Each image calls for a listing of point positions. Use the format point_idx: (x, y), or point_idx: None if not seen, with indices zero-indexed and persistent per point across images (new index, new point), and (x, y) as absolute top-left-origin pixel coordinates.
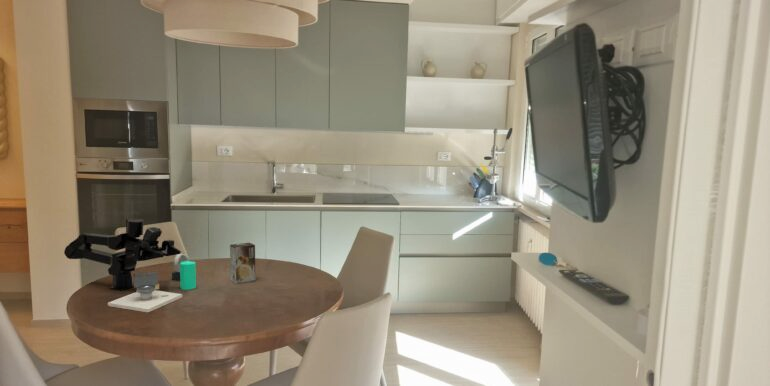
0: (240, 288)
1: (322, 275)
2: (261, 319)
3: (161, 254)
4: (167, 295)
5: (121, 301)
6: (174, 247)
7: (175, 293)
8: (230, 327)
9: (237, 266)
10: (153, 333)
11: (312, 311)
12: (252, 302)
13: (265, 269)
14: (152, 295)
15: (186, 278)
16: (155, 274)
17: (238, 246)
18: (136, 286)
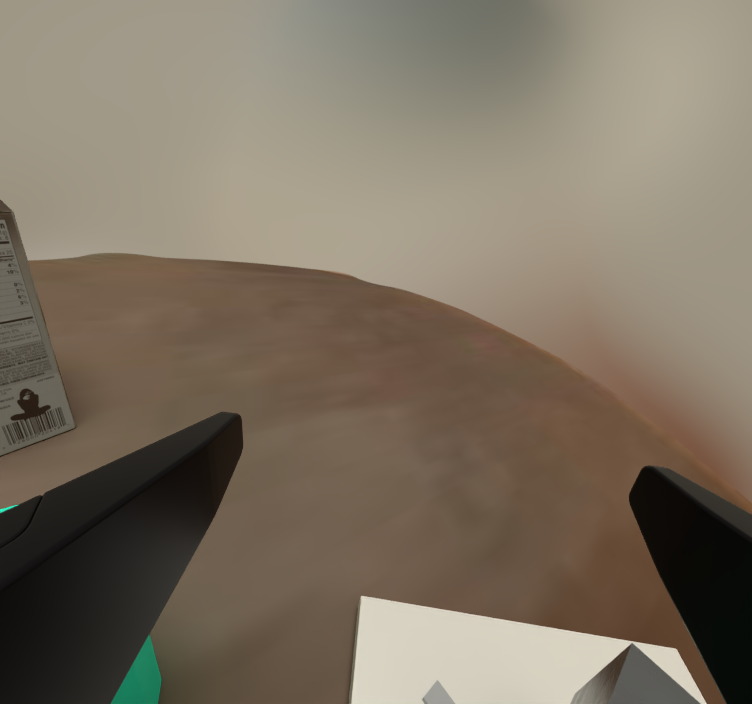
0: (177, 398)
1: (53, 262)
2: (444, 330)
3: (690, 491)
4: (441, 688)
5: None
6: (15, 523)
7: (360, 664)
8: (517, 361)
9: (49, 337)
10: (707, 489)
11: (365, 286)
12: (344, 351)
13: None
14: None
15: (145, 643)
16: (652, 679)
17: None
18: None
